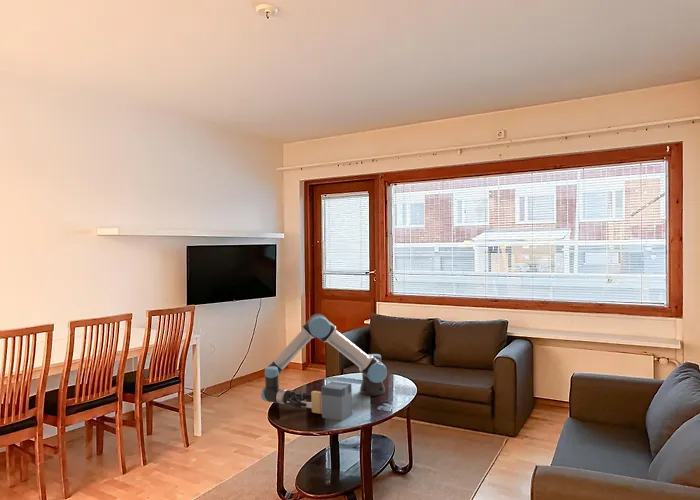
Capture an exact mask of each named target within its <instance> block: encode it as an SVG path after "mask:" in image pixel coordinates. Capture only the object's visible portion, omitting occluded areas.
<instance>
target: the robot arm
mask: <svg viewBox="0 0 700 500" xmlns="http://www.w3.org/2000/svg"><path fill="white" fill-rule="evenodd" d="M315 338H317V339H318V340H320V342H323V343H327V344H329V345H330V346H332V347H333V348H335V350H337V351H338V352H339V353H340V354H342V355H343V356H345V358H347V359H348V360H349V361H351V362H352V363H353V364H354V365H356V366H357V367H358V369H359V372H361V374H362V377H361V378H362V380H361V384H360V388H359V393H360V394H361V395H363V396H369V397H373V396H381V395H383V394H385V392H386V390H385V389H386V388H385V385H384V383H383V381H384V380H385V379H386V378H387V375H388V369H387V366H386V365H385V364H384V363H383V362H382V355H381V354H379V353H368V354H367V353H366V352H365V351H364V350H362V348H360V347H358V345H356V344H355V343H353V341H351V340H350V339H348V337H346V336H345V335H344V334H342V333H341V332H339V331H338V330H337V326H336V325H335V324H334V323H332V322H331V321H330V320H329V319H328V318H327V317H326V316H325V315H324V314H322V313H315V314H313V315H311V316H310V317H309V318H308V320H307V321H306V322H305V324H304V325H303V326H302V329H301V331H300V332H299V333H298V334H296V336H295V337H294V338H293V339H292V340H291V341H290V343H288V345H287V346H286V347H285V348H284V349H283V350H282V352H280V354H278V356H276V358H275V359H274V360H273V361H272V363H270V364H269V365H267V367H265V369H264V378H265V379H264V380H265V381H264V383H265V387H264V388H262V390H261V394H260V395H261V399H262V401H264V402H268V403H276V404H281V405H290V406H292V407H295V409H296V408H298V409H301V408H308V409H312V408H313V404H312V401H306V400H311V392H299V393H296V391H295V390H289V389H283V388H282V389H281V388H280V386H279V385H280V384H279V383H280V382H279V381H280V379H279V375H280V373H281V372H283V370H284V369H285V368H286V367H287V366H288V364H290V362H291V361H292V360H293V359H294V358H295V357H296V356H297V355H298V354H299V353H300V351H301V350H302V349H303V348H305V346H306V345H307V344H308V343H309V342H310V341H311V340H312V339H315Z"/></svg>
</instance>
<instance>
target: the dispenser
mask: <svg viewBox="0 0 700 500" xmlns="http://www.w3.org/2000/svg"><path fill="white" fill-rule="evenodd" d="M352 389H353V388H352V383H348V382H339V381H337V382H336V381H330V382H329V383H326V384H324V385H322V386H320V390H321V391H320V392H321V393H320V395H321V399H322V414H321V418H322V419H328V420H336V421H344V420H346V419H347V418H348V417H350V416H351V415H353V396H352V395H353V393H352V392H353V391H352Z"/></svg>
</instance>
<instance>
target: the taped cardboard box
mask: <svg viewBox="0 0 700 500" xmlns="http://www.w3.org/2000/svg"><path fill="white" fill-rule="evenodd" d="M310 393H311V399H310V400H311V402H312V404H313V408H311V413H314V414H321V415H322V399H321V395H320V393H321V391H320V390H319V391H318V390H312V391H311V392H310Z"/></svg>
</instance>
